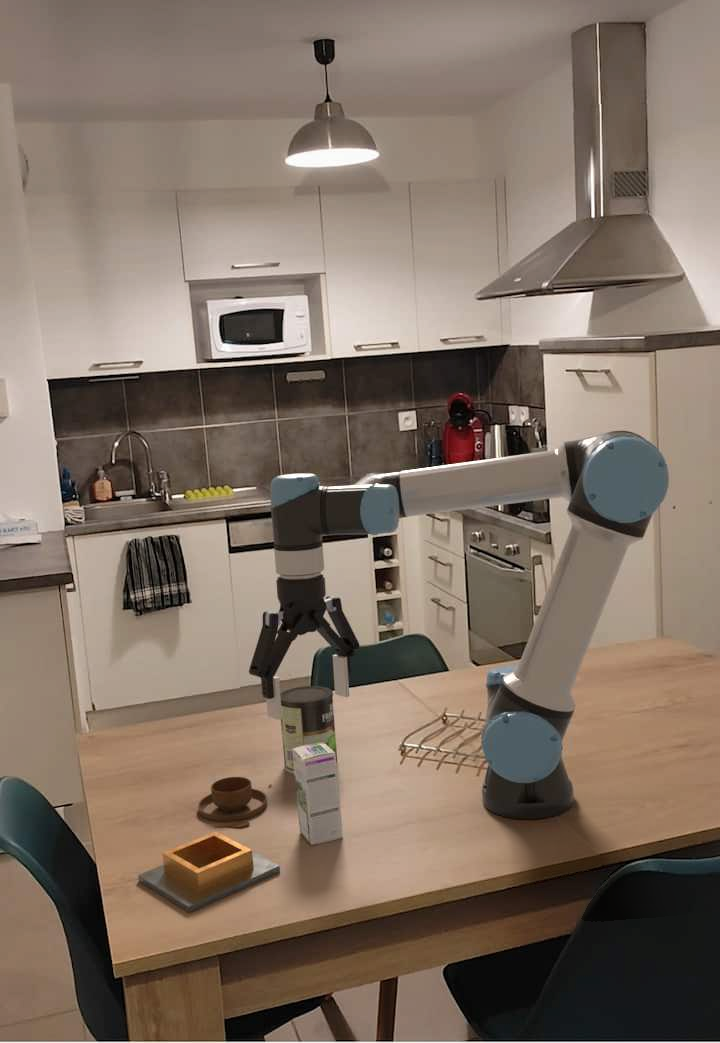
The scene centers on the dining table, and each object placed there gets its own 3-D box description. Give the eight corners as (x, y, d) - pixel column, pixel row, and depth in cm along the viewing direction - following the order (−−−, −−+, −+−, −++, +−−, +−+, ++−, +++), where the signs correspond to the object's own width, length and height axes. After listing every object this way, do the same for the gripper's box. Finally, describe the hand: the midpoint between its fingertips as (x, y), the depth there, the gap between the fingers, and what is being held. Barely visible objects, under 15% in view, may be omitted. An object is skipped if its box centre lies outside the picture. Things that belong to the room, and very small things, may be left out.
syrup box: (344, 838, 169) (337, 751, 167) (309, 846, 167) (302, 758, 165) (332, 824, 175) (325, 740, 173) (297, 832, 173) (291, 747, 171)
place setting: (206, 792, 193) (204, 761, 193) (316, 785, 193) (314, 754, 192) (191, 834, 176) (188, 800, 175) (311, 827, 176) (309, 793, 175)
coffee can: (343, 755, 205) (338, 685, 203) (331, 776, 195) (325, 702, 193) (291, 755, 207) (286, 685, 205) (277, 775, 198) (271, 702, 195)
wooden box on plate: (280, 871, 160) (278, 846, 159) (189, 913, 149) (186, 886, 149) (227, 844, 170) (225, 820, 169) (138, 881, 160) (136, 856, 159)
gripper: (345, 558, 176) (353, 682, 179) (219, 585, 160) (230, 721, 163) (376, 562, 170) (383, 691, 173) (248, 591, 154) (259, 732, 157)
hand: (309, 706), depth 168 cm, fingers open, 13 cm apart
